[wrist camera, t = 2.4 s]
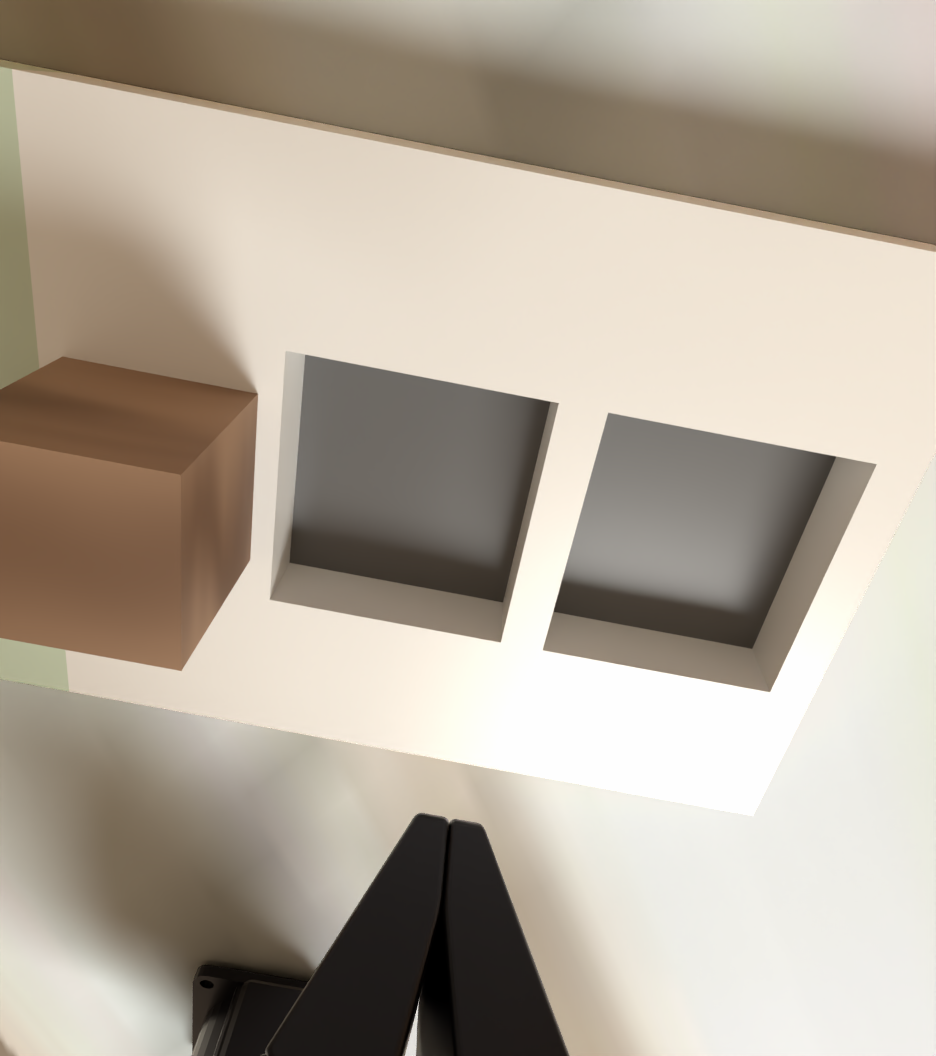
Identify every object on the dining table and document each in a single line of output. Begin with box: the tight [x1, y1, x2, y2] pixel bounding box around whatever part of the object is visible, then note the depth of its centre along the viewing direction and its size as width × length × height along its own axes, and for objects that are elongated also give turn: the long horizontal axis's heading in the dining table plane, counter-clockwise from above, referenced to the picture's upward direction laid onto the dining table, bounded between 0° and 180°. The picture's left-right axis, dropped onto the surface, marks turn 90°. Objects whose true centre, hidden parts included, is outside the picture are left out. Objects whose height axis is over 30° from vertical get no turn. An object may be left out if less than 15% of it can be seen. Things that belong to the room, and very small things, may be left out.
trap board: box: [0, 59, 936, 816], centre depth 17 cm, size 14×24×4 cm, turn 80°
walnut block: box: [0, 356, 258, 671], centre depth 15 cm, size 4×4×4 cm
